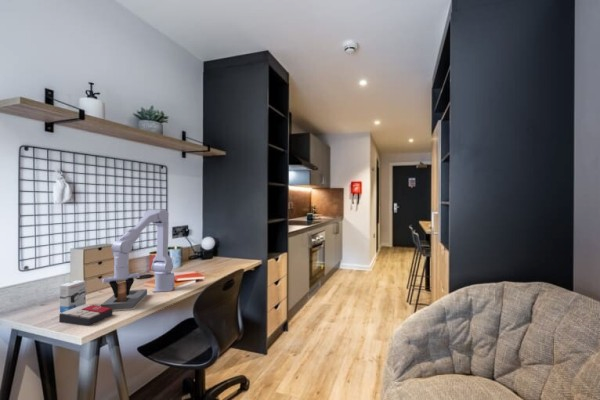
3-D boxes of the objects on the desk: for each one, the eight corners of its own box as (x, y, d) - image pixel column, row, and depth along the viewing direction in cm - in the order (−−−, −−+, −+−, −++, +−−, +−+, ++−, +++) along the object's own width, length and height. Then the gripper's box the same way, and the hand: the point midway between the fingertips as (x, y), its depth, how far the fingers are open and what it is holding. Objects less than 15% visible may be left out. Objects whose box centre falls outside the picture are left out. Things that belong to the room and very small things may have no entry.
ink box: (68, 313, 128) (68, 285, 128) (59, 312, 129) (59, 285, 129) (86, 306, 136) (86, 280, 136) (77, 305, 137) (77, 279, 137)
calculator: (89, 317, 115) (58, 312, 118) (88, 328, 115) (58, 322, 118) (113, 307, 126) (84, 302, 129) (112, 317, 126) (84, 312, 129)
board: (147, 295, 152) (147, 289, 151) (133, 309, 132) (133, 302, 132) (119, 296, 149) (118, 290, 149) (100, 311, 129) (100, 304, 129)
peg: (127, 300, 135) (127, 283, 136) (117, 302, 133) (117, 284, 133) (125, 298, 138) (125, 281, 138) (115, 300, 136) (115, 283, 136)
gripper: (136, 262, 143) (136, 290, 143) (100, 267, 133) (100, 297, 133) (140, 265, 138) (141, 294, 138) (104, 270, 128) (104, 301, 128)
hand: (121, 296), depth 135 cm, fingers closed on peg, 4 cm apart
